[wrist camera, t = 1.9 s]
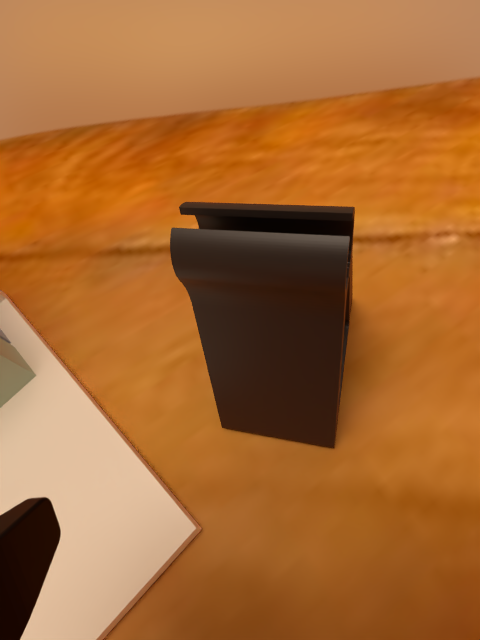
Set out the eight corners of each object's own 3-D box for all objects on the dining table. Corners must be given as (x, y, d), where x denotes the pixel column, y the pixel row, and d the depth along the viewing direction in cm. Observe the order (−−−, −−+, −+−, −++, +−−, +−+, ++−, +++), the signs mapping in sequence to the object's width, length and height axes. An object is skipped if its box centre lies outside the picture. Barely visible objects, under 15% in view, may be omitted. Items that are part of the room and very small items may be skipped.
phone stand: (256, 289, 27) (207, 128, 17) (353, 299, 25) (366, 126, 15) (222, 428, 23) (131, 331, 13) (334, 450, 21) (333, 358, 11)
